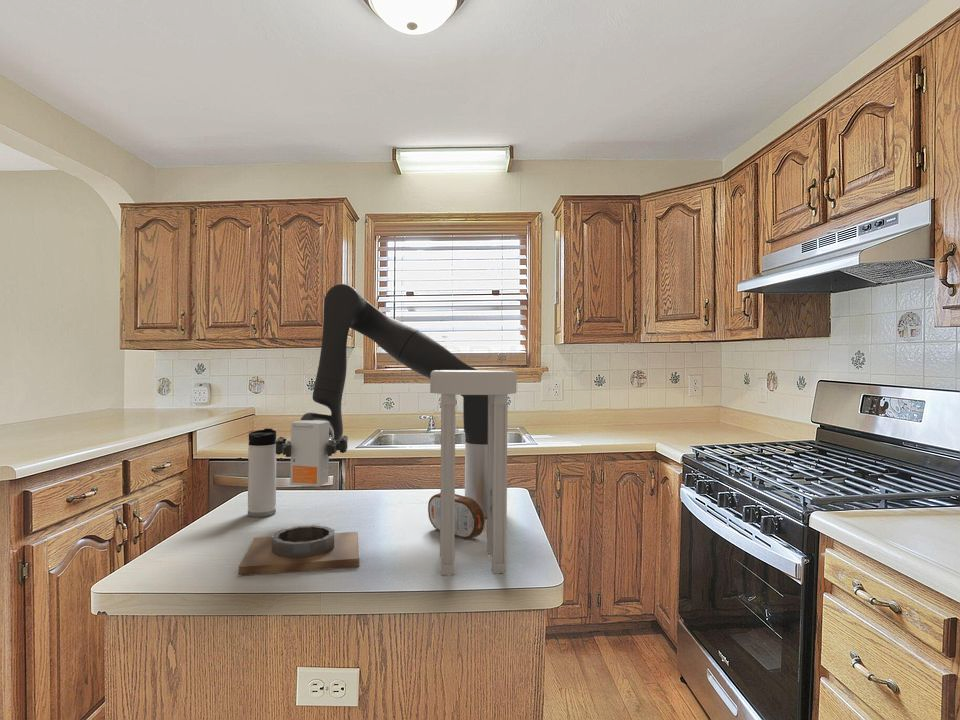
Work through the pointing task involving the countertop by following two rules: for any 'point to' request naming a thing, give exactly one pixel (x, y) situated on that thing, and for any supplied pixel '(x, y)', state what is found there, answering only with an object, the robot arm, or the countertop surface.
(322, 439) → the skincare box
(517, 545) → the countertop surface
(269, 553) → the walnut base
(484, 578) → the countertop surface
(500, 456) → the stool
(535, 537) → the countertop surface
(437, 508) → the tin
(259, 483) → the travel mug
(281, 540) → the ring collar
